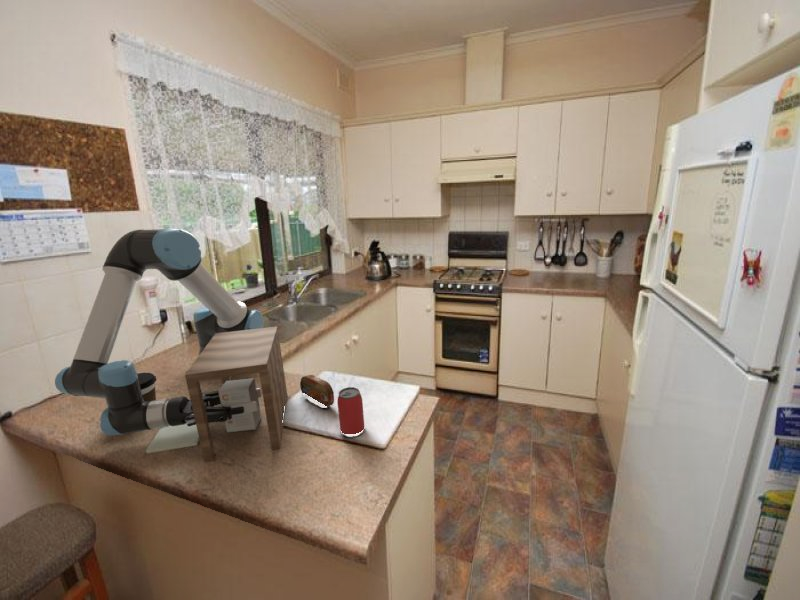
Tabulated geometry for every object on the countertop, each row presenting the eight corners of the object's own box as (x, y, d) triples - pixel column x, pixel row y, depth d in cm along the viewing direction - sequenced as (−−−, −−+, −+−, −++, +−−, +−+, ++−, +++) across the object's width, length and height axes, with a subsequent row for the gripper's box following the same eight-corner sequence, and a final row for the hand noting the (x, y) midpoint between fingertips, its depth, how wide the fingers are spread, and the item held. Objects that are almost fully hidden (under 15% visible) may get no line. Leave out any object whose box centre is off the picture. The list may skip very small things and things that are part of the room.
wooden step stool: (229, 403, 118) (215, 333, 111) (287, 394, 121) (277, 326, 115) (204, 462, 91) (184, 374, 85) (279, 448, 95) (266, 363, 88)
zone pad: (164, 426, 107) (163, 423, 107) (208, 419, 109) (208, 416, 109) (146, 453, 96) (146, 450, 95) (196, 445, 98) (196, 441, 98)
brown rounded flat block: (300, 397, 120) (297, 373, 117) (309, 393, 122) (306, 370, 120) (328, 413, 110) (326, 388, 107) (337, 408, 112) (334, 384, 110)
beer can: (337, 428, 102) (333, 389, 99) (360, 421, 105) (357, 383, 102) (344, 441, 97) (340, 401, 93) (367, 434, 99) (364, 395, 96)
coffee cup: (113, 422, 111) (102, 386, 107) (148, 403, 121) (139, 369, 117) (138, 428, 107) (128, 391, 104) (172, 408, 117) (163, 373, 114)
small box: (261, 417, 109) (255, 377, 106) (255, 430, 103) (248, 388, 100) (233, 420, 109) (225, 380, 105) (226, 433, 103) (217, 391, 99)
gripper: (185, 405, 111) (265, 393, 115) (159, 446, 92) (255, 430, 97) (179, 383, 109) (261, 371, 113) (152, 420, 90) (251, 405, 95)
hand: (258, 399), depth 105 cm, fingers closed on small box, 7 cm apart
